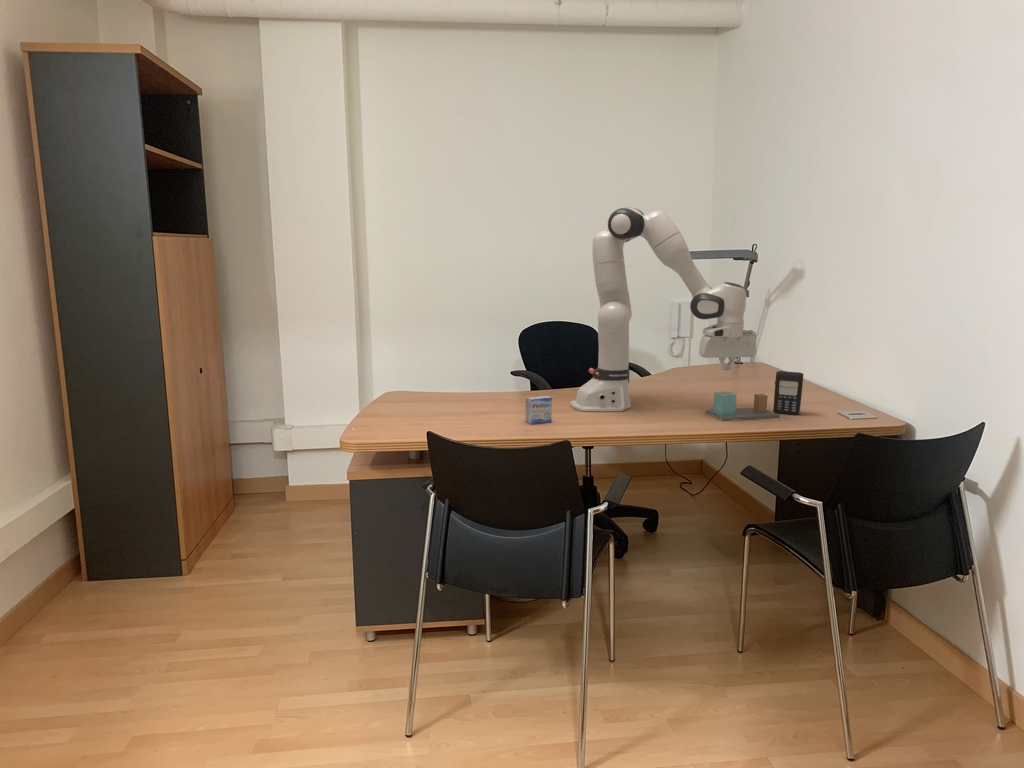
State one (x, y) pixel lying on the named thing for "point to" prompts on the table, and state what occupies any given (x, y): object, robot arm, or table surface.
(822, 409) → the table surface
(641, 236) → the robot arm
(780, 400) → the card reader
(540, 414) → the medicine box
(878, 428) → the table surface
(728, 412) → the teal block
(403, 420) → the table surface
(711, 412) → the post board
